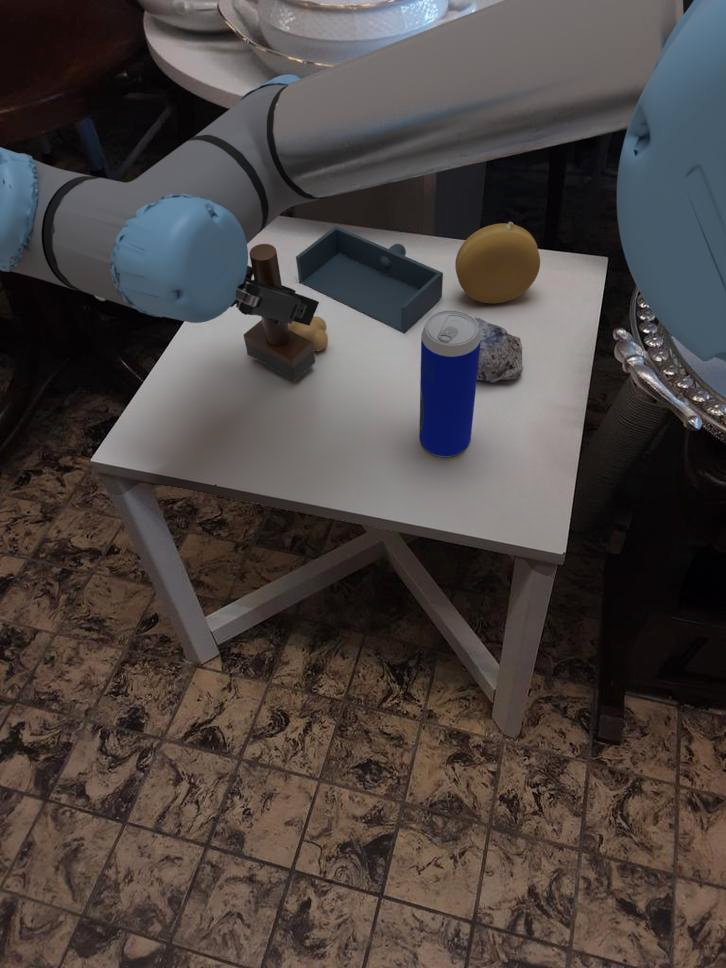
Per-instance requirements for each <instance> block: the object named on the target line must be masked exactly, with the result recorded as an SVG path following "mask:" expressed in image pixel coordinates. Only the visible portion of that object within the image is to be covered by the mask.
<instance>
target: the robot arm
mask: <svg viewBox="0 0 726 968" xmlns="http://www.w3.org/2000/svg"><path fill="white" fill-rule="evenodd" d="M625 130H626V132H625V136H624V139H623V144H622V148H621V153H620V157H619V163H618V170H617V180H616V217H617V224H618V226H617V227H618V233H619V239H620V242H621V243H620V244H621V247H622V250H623V254H624V258H625V261H626V264H627V266H628V269H629V272H630V274H631V277H632V279H633V281H634V284H635V285H636V288H637V289H638V292H639V293H640V295H641V297H642V298H643V300H644V302H645V303H646V305H647V306H648V308H649V309H650V311H651V312H652V314H653V315H654V317H655V318H656V319H657V321H659V323H660V324H661V325H662V326H663V327H664V328H665V330H666V331H667V332H668V333H669V334H670V335H671V336H673V338H674V339H675V340H676V341H677V342H678V343H680V345H681V346H683V347H684V348H685V349H686V350H688V351H689V352H690V353H692V354H693V355H694V356H696V357H697V358H698V359H700V361H702V362H709V361H711V360H712V359H714V358H716V359H719V360H721V361H723V362H726V0H501V1H498V2H496V3H493V4H490V5H487V6H485V7H483V8H480V9H477V10H474V11H473V12H470V13H467V14H464V15H462V16H460V17H457V18H454V19H451V20H449V21H446V22H444V23H441V24H439V25H436V26H434V27H431V28H429V29H426V30H423V31H421V32H418V33H416V34H413V35H409V36H407V37H405V38H402V39H400V40H397V41H395V42H392V43H390V44H387V45H385V46H382V47H379V48H376V49H374V50H372V51H369V52H367V53H364V54H362V55H361V54H360V55H358V56H356V57H353V58H350V59H349V60H346V61H343V62H341V63H338V64H335V65H333V66H330V67H328V68H325V69H323V70H320V71H318V72H314V73H312V74H310V75H307V76H304V77H301V76H299V75H295V74H291V73H290V74H289V73H288V74H287V73H286V74H282V75H278V76H276V77H274V78H272V79H270V80H269V81H267V82H265V83H262V84H260V85H258V86H256V87H254V88H253V89H251V90H249V91H248V92H246V93H245V94H244V95H242V97H241V98H240V100H239V101H238V102H237V103H236V104H235V105H233V106H232V107H230V108H229V109H228V110H226V112H224V113H223V114H222V115H220V116H219V117H217V118H216V119H215V120H214V121H212V122H211V123H210V124H208V125H207V126H206V127H204V128H203V129H202V130H201V131H200V132H198V133H197V134H196V135H194V136H192V137H190V138H189V139H187V140H186V141H185V142H184V143H182V144H181V145H180V146H178V147H177V148H176V149H174V150H173V151H171V152H170V153H168V154H167V155H166V156H164V157H163V158H162V159H161V160H159V161H158V162H156V163H155V164H154V165H152V166H151V167H150V168H148V169H147V170H145V172H143V173H141V175H139V176H138V177H136V178H135V179H133V180H131V181H127V182H125V181H119V180H114V179H110V178H105V177H99V176H93V175H88V174H83V173H80V172H75V171H70V170H65V169H61V168H58V167H55V166H52V165H49V164H46V163H43V162H41V161H38V160H36V159H33V156H31V155H29V154H26V153H22V152H21V153H18V152H15V151H12V150H9V149H6V148H4V147H0V271H1V272H6V273H10V272H13V273H16V274H21V275H24V276H28V277H32V278H35V279H38V280H42V281H45V282H47V283H48V282H49V283H51V284H55V285H58V286H61V287H65V288H66V289H71V290H73V291H78V292H83V293H86V294H89V295H92V296H93V297H94V298H95V299H97V301H100V302H105V301H110V302H114V303H116V304H119V305H122V306H126V307H128V308H130V309H131V308H132V309H135V310H137V311H138V312H139V313H142V314H146V315H148V316H152V317H154V318H157V317H159V318H163V317H164V318H168V319H173V320H178V321H182V322H186V323H191V324H201V323H206V322H209V321H212V320H214V319H216V318H218V317H220V316H222V315H223V314H224V313H225V312H227V311H228V309H229V308H233V307H234V306H235V308H237V309H238V311H239V312H240V313H241V314H243V315H244V316H247V315H248V316H259V317H261V316H262V317H266V318H270V319H269V321H271V322H273V323H275V324H277V325H279V323H280V321H282V322H285V323H287V324H288V323H289V324H292V322H293V321H294V322H298V323H301V324H305V325H308V326H310V323H311V321H312V319H313V317H315V313H316V311H317V310H318V307H319V303H320V302H319V301H318V300H316V299H313V298H311V297H307V296H305V295H302V294H299V293H297V290H295V289H293V288H291V287H288V286H286V285H283V284H282V288H279V289H276V288H273V287H271V286H268V285H265V284H262V283H260V282H257V281H254V279H253V277H254V275H253V270H252V266H250V265H249V247H248V244H249V243H251V241H253V239H255V238H256V237H257V236H258V234H260V233H261V232H262V231H263V230H265V229H266V228H267V227H268V226H269V225H270V224H271V223H272V222H274V221H275V219H277V218H278V217H279V216H280V215H281V214H283V212H285V211H286V210H288V209H290V208H292V207H295V206H298V205H302V204H306V203H312V202H315V201H320V200H324V199H328V198H330V197H333V196H338V195H342V194H347V193H351V192H356V191H361V190H364V189H369V188H374V187H378V186H382V185H387V184H390V183H395V182H400V181H405V180H409V179H414V178H417V177H421V176H426V175H431V174H435V173H440V172H443V171H449V170H452V169H457V168H462V167H466V166H471V165H475V164H479V163H483V162H488V161H492V160H497V159H501V158H506V157H510V156H514V155H519V154H524V153H528V152H532V151H535V150H536V151H537V150H541V149H545V148H549V147H554V146H558V145H563V144H568V143H573V142H576V141H581V140H585V139H590V138H594V137H598V136H603V135H607V134H611V133H615V132H620V131H625ZM262 317H261V318H262Z"/></svg>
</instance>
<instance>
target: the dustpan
mask: <svg viewBox="0 0 726 968" xmlns="http://www.w3.org/2000/svg"><path fill="white" fill-rule="evenodd" d="M406 254H407V250H406V248H405V246H404V245H403V244H401V243H394V244H393V245H391V246H390V247H389V248H388V247H385V246H383V245H380V244H378V243H375V242H374V241H371V240H369V239H367V238H364V237H362V236H361V235H357V234H356V233H352V232H350V231H349V230H345V229H344V228H342V227H339V226H337V225H335V226H334V227H332V228H331V229H330V230H328V231H327V232H326V233H324V235H322V236H321V237H319V238H318V239H317V240H315V241H314V242H313V243H312V244H310V245H309V246H308V247H306V248H305V249H303V250H302V251H301V252H300V253H299V254H297V255H296V256H295V260H296V261H295V262H296V268H297V269H296V270H297V275H298V282H299V283H300V284H302V285H304V286H306V287H308V288H310V289H313V290H315V291H316V292H319V293H321V294H323V295H325V296H327V297H329V298H331V299H333V300H335V301H337V302H339V303H342V304H343V305H346V306H348V307H349V308H351V309H354V310H356V311H358V312H360V313H362V314H364V315H366V316H368V317H370V318H372V319H374V320H376V321H378V322H380V323H382V324H385V325H387V326H388V327H391V328H393V329H395V330H397V331H399V332H401V333H403V334H406V333H407V332H408V331H409V330H410V329H411V328H412V327H413V326H414V325H416V324H417V322H418V321H419V320H421V318H423V317H424V316H425V315H426V314H427V313H428V312H429V311H430V310H431V309H432V308H433V307H434V306H435V305H437V303H439V301H440V300H441V299H442V297H443V284H444V283H443V280H444V272H442V271H440V270H438V269H435V268H433V267H431V266H429V265H426V264H424V263H422V262H419V261H417V260H415V259H413V258H410V257H408V256H406Z"/></svg>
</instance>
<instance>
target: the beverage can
mask: <svg viewBox="0 0 726 968" xmlns="http://www.w3.org/2000/svg"><path fill="white" fill-rule="evenodd" d="M480 343H481V333H480V330H479V326H478V323H477V322H476V320H475V319H474V318H473V316H472V315H471V314H469V313H467V312H464V311H462V310H457V309H446V310H441V311H438V312H435V313H433V314H432V315H430V316H429V317H428V318H427V319H426V321H425V324H424V326H423V329H422V331H421V337H420V379H419V381H420V383H419V388H420V389H419V428H418V429H419V430H418V431H419V432H418V433H419V434H418V436H419V437H418V439H419V442H420V444H421V446H422V447H423V448H424V450H426V452H429V453H430V454H432V455H433V456H436V457H440V458H451V457H455V456H457V455H459V454H461V453H463V452H464V451H465V450H466V449H467V448H468V447H469V446H470V444H471V440H472V431H473V420H474V411H475V403H476V402H475V401H476V400H475V399H476V393H477V392H476V391H477V381H478V380H477V372H478V362H479V353H480Z"/></svg>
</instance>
